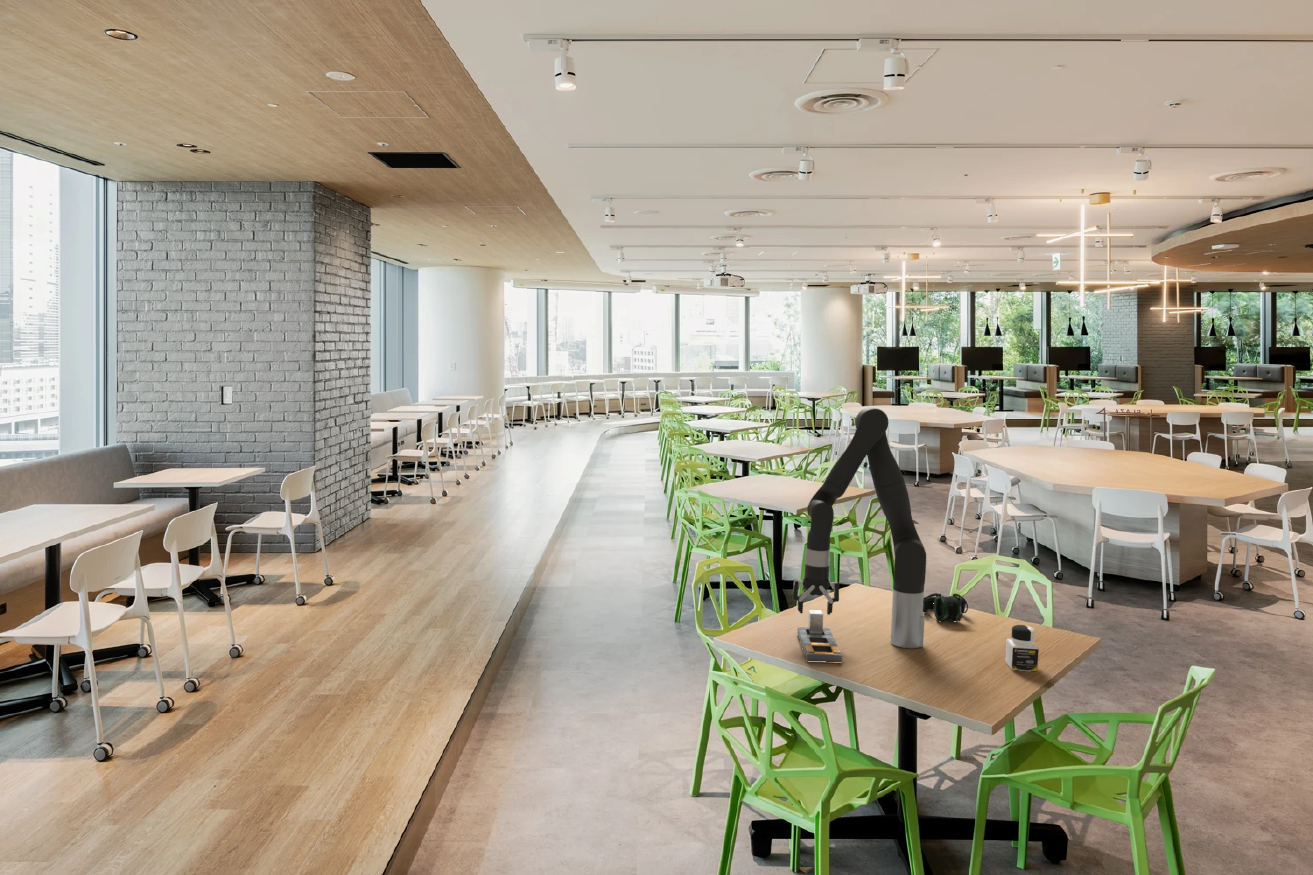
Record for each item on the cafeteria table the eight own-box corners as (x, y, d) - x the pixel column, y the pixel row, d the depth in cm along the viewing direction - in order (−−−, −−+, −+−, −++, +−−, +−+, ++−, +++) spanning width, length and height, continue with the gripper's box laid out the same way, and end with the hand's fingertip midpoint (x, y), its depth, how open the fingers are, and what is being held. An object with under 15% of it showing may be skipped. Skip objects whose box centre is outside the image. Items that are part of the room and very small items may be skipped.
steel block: (820, 638, 270) (821, 610, 269) (822, 642, 266) (823, 614, 265) (807, 637, 270) (808, 609, 269) (809, 641, 266) (810, 613, 265)
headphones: (983, 609, 285) (959, 601, 305) (955, 581, 285) (933, 574, 305) (956, 638, 284) (934, 628, 304) (928, 609, 284) (907, 601, 304)
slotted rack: (828, 635, 272) (829, 627, 272) (841, 663, 247) (841, 654, 247) (797, 634, 273) (797, 626, 273) (806, 662, 248) (807, 653, 248)
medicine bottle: (1011, 670, 244) (1013, 629, 243) (1004, 661, 251) (1007, 622, 250) (1037, 672, 243) (1040, 631, 242) (1030, 663, 250) (1032, 623, 249)
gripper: (838, 561, 269) (835, 611, 271) (793, 558, 270) (790, 608, 272) (842, 566, 262) (839, 618, 263) (795, 564, 263) (792, 615, 264)
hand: (814, 613), depth 268 cm, fingers open, 8 cm apart
